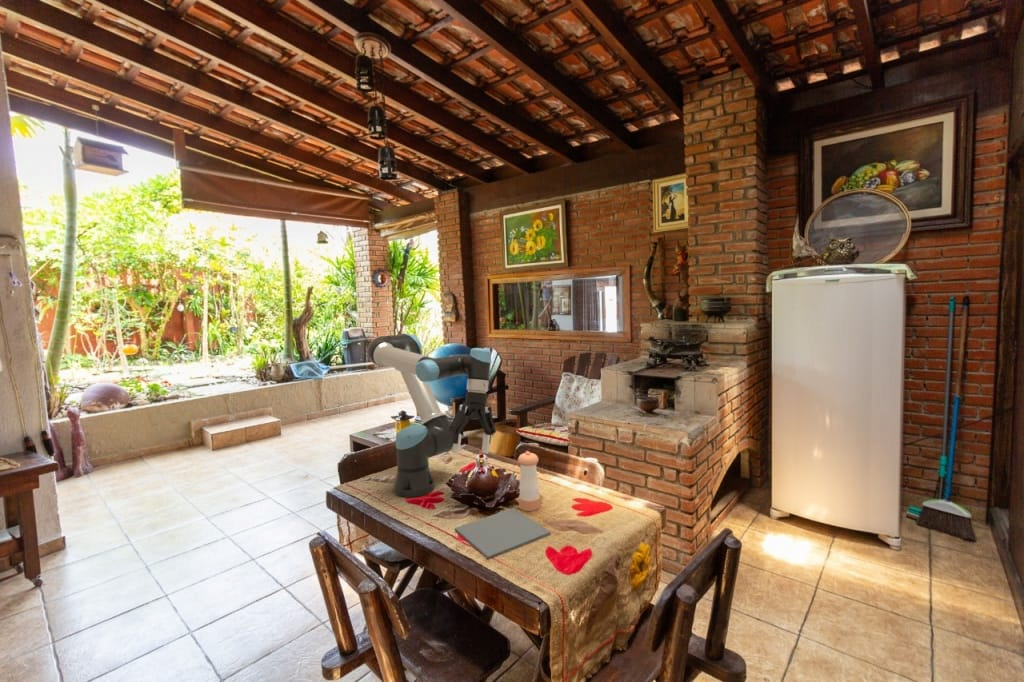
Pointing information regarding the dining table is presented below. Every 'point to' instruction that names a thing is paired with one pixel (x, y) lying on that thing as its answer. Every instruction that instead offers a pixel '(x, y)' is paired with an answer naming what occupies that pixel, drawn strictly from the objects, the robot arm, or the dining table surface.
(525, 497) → the pepper shaker
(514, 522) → the slate mat
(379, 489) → the dining table surface
